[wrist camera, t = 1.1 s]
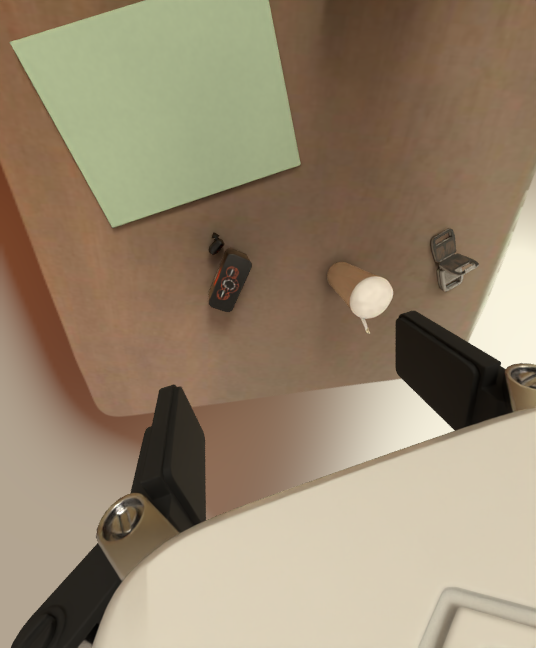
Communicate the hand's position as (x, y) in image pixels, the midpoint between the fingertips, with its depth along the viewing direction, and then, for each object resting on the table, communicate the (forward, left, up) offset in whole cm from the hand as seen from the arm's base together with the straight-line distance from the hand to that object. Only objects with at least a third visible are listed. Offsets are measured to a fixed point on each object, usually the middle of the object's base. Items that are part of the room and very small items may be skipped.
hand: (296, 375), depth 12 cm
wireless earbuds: (+1, -2, -23) cm, 23 cm away
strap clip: (+10, +26, -23) cm, 36 cm away
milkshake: (+7, +11, -23) cm, 27 cm away
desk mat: (-13, -1, -23) cm, 27 cm away
